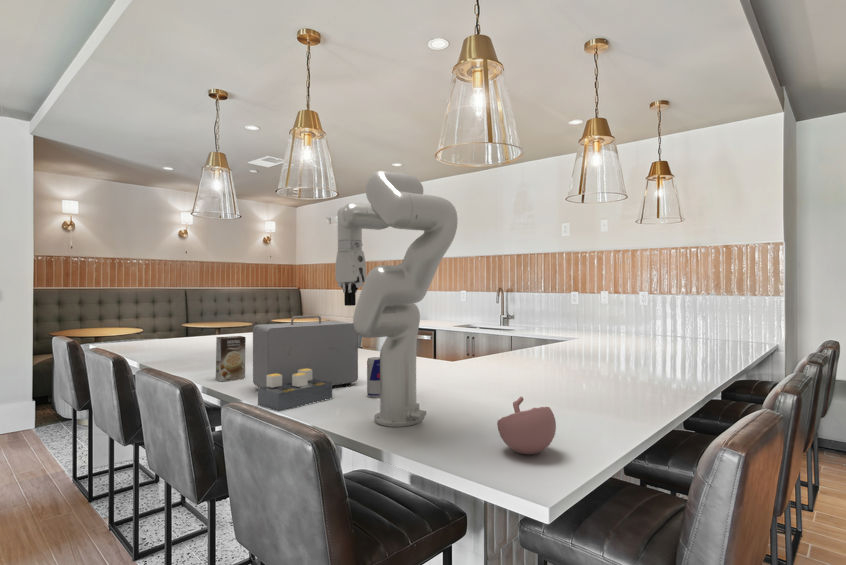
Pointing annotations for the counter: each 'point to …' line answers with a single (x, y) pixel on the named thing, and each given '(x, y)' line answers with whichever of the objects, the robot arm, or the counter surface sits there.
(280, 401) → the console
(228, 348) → the coffee box
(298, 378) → the switch
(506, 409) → the counter surface
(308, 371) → the switch
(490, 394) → the counter surface
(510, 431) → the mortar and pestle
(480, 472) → the counter surface
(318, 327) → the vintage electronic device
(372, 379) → the energy drink
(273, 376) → the switch
